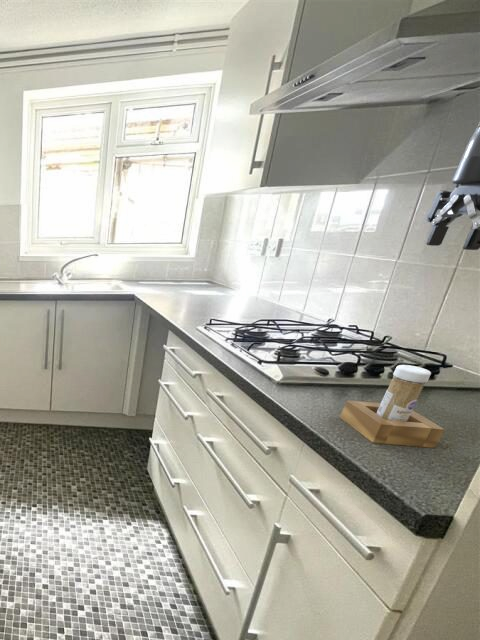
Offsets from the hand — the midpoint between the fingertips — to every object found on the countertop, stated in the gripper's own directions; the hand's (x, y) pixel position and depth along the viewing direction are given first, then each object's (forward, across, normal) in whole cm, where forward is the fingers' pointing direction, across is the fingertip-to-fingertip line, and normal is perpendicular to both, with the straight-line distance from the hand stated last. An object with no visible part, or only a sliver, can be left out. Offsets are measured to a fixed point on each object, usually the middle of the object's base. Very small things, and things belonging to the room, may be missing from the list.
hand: (450, 247), depth 82 cm
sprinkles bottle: (+33, -18, +11) cm, 39 cm away
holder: (+33, -18, +11) cm, 39 cm away
